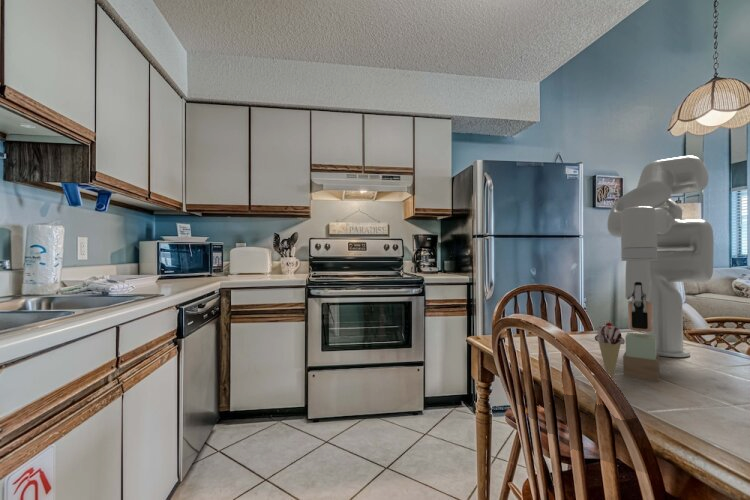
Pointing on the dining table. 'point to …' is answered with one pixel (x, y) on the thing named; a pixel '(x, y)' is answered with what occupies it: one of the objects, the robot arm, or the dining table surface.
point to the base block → (641, 368)
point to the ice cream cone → (609, 346)
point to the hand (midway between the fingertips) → (640, 325)
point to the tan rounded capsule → (648, 310)
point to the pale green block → (641, 346)
